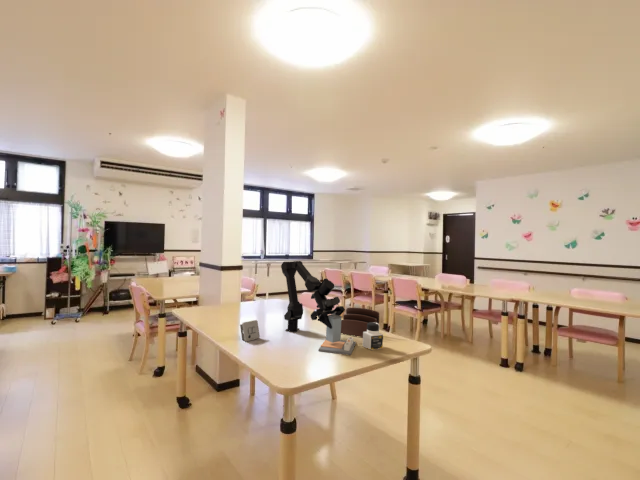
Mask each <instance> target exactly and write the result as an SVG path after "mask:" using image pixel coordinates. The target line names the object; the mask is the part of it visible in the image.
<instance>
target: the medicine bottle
mask: <svg viewBox="0 0 640 480" xmlns="http://www.w3.org/2000/svg"><path fill="white" fill-rule="evenodd" d="M383 342H384V334H382V333H381V332H380V323H379V324H378V323H375V322H369V323H368V324H367V331H366V332H363V337H362V347H363V348H366V349H367V348H369V349H371V350H370V351H373V350H372V349H377V350H379V349H378V348H382V349H383V347H384V346H383V345H384V344H383ZM369 349H368V350H369Z"/></svg>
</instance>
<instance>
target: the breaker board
mask: <svg viewBox="0 0 640 480" xmlns="http://www.w3.org/2000/svg"><path fill="white" fill-rule="evenodd" d="M355 344H357V341H355V340H354V337H352V336H349V337H348V338H347V340H345V339H340V341H338V342H334V343H332V342H330V341H327V340H326V339H325V340H323V342H322V344H320V347H319V348H318V352H323V353H332V354H341V355H346V354H347V355H348V356H351V355H352V353H353V351H354V348H355V347H356V345H355ZM354 346H355V347H354ZM347 355H346V356H347Z"/></svg>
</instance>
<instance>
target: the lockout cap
mask: <svg viewBox="0 0 640 480" xmlns="http://www.w3.org/2000/svg"><path fill="white" fill-rule="evenodd" d="M342 318H343V316H341V315H340V316H339V315H335V314H333V315H331V314H328V319H329V321H330V323H331V325H332V329H330V328H329V327H327V326H326V330H325V331H326V332H325V333H326V334H325V340H327V341H330V342H332V343H334V342H338V341H340V340H342V339H341V338H342V337H341V335H342V334H341V320H342Z"/></svg>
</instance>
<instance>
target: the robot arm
mask: <svg viewBox="0 0 640 480" xmlns="http://www.w3.org/2000/svg"><path fill="white" fill-rule="evenodd" d="M280 268H281V271H282V274H283V276H284V277H285V280H286V286H287V287H286V288H287V293H288V305H287V311H286V312H285V314H284V315H283V316H284V317H283V318H284V320H285V321H287V328H286V329H285V330H284V331H285V332H293V333H297V332H299V330H300V328H299V320H302V318H303V315H304V307H303V306H304V305H303V303H301V302H300V300H299V298H298V291H297V283H296V277H295V276H296V273H298V275H299V276H300V277H301V279H302V280H303V282H304V286H305V288H306V289H307V291H308V292H314V293H311V296H310V300H315V302H316V304H317V305H316V309H313V311H312V312H311V314H310V318H311V319H310V320H312V321H319V322H320V323H322V324H323V325H325V326H326V327H329V328H330V329H332V325H331V323H330V321H329V319H328V315H333V314H335V315H339V316H341V315H342V314H343V313H344V312H346V309H345V307H344V306H342V305H339V303H341V299H340V298H339V296H334V297H333V298H327V296H329V294H331V292H332V291H333V290H334V288H335V284H334V282H333V281H331V280H330V279H328V278H323V280H322V281H321V280H320V279H318V277H316V276H314V275H312V274H311V273H310V271H309V270H308V268H307V267H305V265H304V264H303V261H302V260H293V261H283V262H282V263H281V265H280ZM337 305H338V306H337ZM335 306H336V307H335Z"/></svg>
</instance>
